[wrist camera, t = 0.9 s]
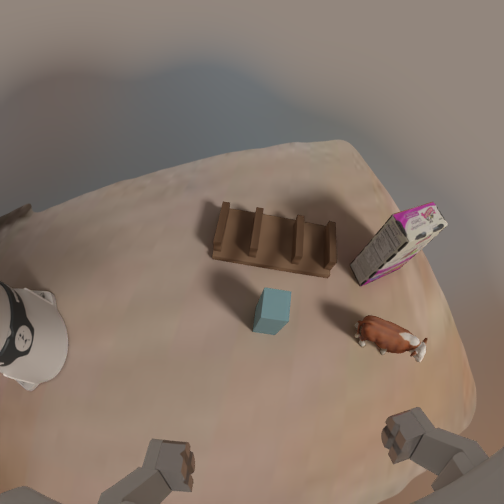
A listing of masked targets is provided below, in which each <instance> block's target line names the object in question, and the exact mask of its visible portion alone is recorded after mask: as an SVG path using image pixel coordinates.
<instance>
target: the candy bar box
mask: <svg viewBox="0 0 504 504" xmlns="http://www.w3.org/2000/svg"><path fill="white" fill-rule="evenodd" d="M447 225H448V224H447V222H446V220H445V219H444V217H443V216H442V214H441V212H440V211H439V210H438V208H437V206H436V205H435V204H434V203H433V202H430V203H427V204H424V205H421V206H418V207H415V208H411V209H408V210H405V211H401V212H398V213H395V214H392V216H391V217H390V218H389V219H388V220H387V222H386V223H385V224H384V225H383V227H382V228H381V229H380V230H379V231H378V233H377V234H376V235H375V236H374V237H373V239H372V240H371V241H370V242H369V243H368V245H367V246H366V247H365V248H364V249H363V250H362V251H361V253H360V254H359V255H358V256H357V257H356V258H355V259H354V260H353V262H352V263H351V264H350V266H351V269H352V271H353V272H354V274H355V276H356V278H357V280H358V282H359V284H360V286H363V285H365V284H367V283H369V282H372V281H374V280H376V279H378V278H380V277H383V276H385V275H387V274H389V273H391V272H393V271H395V270H398V269H400V268H401V267H402V266H403V265H404V264H405V263H407V262H408V261H409V260H410V259H411V258H412V257H413V256H415V255H416V254H417V253H418V252H419V251H420V250H421V249H422V248H423V247H424V246H426V245H427V244H428V243H429V242H430V241H431V240H432V239H433V238H434V237H435V236H437V235H438V234H439V233H440V232H441V231H442V230H443V229H444V228H445V227H446V226H447Z"/></svg>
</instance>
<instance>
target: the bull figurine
mask: <svg viewBox="0 0 504 504" xmlns="http://www.w3.org/2000/svg"><path fill="white" fill-rule="evenodd" d="M360 326H362V328H361V333H360ZM355 327H356V329H358V331H357V332H356V334H355V338H358V337H359V338H360V340H359V344H360V346H361V347H364V346H365V345H366V344H365V340H369V341H372V342H375V343H376V345H377V346H378V347H380V348H382V349H381V350H380V352H381V354H382V355H384V354H385V352H391V353H403V352H405V351H409V352H411V353H412V354H411V355H410V356H413V357H414V358H416V359H415V360H416V362H421V361H422V360H423V356H424V355H425V353H426V345H425V344H426V343H427V338H425V339H424V340H423V342H422V343H421V342H420V340H419V339H418V338H417V337H416V336H414V335H413V334H412V333H410V332H409V331H408V330H406V329H404V328H402V327H400V326H398V325H396V324H394V323H392V322H389V321H385V320H383V319H381V318H379V317H376V316H371V315H368V316H366V317H365V318H364V319H363V321H358V322H357V323H356V324H355Z"/></svg>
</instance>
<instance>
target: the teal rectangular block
mask: <svg viewBox="0 0 504 504" xmlns="http://www.w3.org/2000/svg"><path fill="white" fill-rule="evenodd" d="M290 301H291V292H290V291H284V290H277V289H271V288H264V290H263V292H262V295H261V297H260V299H259V301H258V304H257V306H256V310H255V318H254V325H253V332H258V333H265V334H272V335H275V334H276V333H277V332H278V331H280V330H281V329H282V328H283V327H284V326H285V325H286V324H287V323H288V322H289V312H290Z"/></svg>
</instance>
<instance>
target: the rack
mask: <svg viewBox="0 0 504 504" xmlns="http://www.w3.org/2000/svg"><path fill="white" fill-rule="evenodd" d="M263 209H264V208H258V207H257V208H256V212H255V213H254V212H248V211H242V210H236V209H230V203H229V202H223V204H222V208H221V212H220V216H219V220H218V224H217V228H216V232H215V237H214V241H213V247H214V251H213V255H212V259H215V260H221V261H226V262H232V263H238V264H244V265H250V266H256V267H262V268H268V269H274V270H280V271H286V272H292V273H298V274H304V275H311V276H317V277H323V278H328V277H329V276H330V270H331V269H332V267H333V266H334V265H335V264H336V263H337V256H336V223H335V222H331V221H329V222H328V224H327V226H323V225H318V224H313V223H308V222H304V216H301V215H297V218H296V220H292V219H287V218H282V217H276V216H271V215H265V214H263Z"/></svg>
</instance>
